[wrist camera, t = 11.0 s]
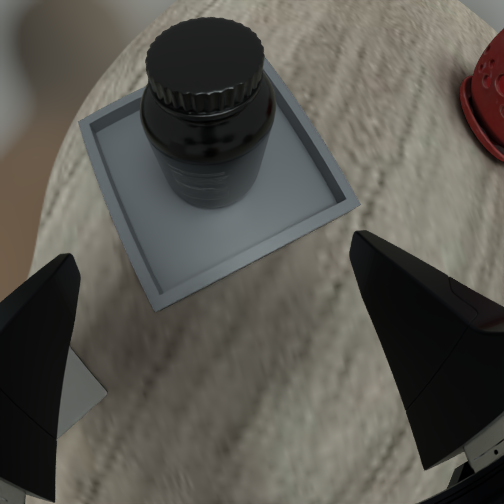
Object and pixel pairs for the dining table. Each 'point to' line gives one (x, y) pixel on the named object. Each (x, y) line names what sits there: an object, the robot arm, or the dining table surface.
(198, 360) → the dining table surface
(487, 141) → the plant pot
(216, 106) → the supplement bottle
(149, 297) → the charcoal tray
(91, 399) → the milk carton
